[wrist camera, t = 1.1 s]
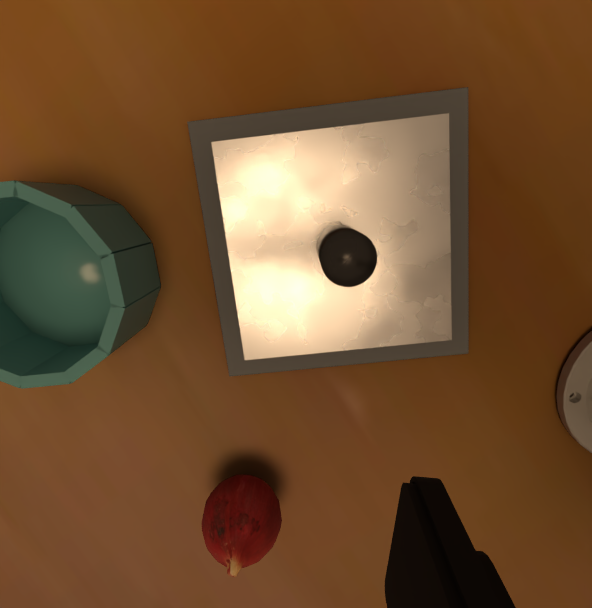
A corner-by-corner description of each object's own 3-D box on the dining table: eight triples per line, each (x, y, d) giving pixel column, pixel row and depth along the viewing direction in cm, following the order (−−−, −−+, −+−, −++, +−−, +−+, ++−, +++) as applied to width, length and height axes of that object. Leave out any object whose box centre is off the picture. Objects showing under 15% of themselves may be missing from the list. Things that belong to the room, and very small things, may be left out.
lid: (444, 116, 25) (495, 85, 19) (447, 336, 29) (490, 375, 22) (213, 143, 26) (184, 123, 19) (246, 356, 30) (230, 400, 23)
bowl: (139, 177, 27) (94, 170, 21) (172, 342, 30) (141, 376, 24) (-30, 197, 27) (-120, 196, 22) (19, 358, 30) (-48, 395, 24)
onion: (200, 470, 33) (169, 554, 25) (261, 442, 32) (248, 519, 24) (236, 522, 34) (217, 617, 26) (295, 496, 33) (293, 586, 25)
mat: (465, 89, 25) (468, 87, 25) (466, 351, 30) (468, 353, 29) (189, 123, 26) (187, 121, 26) (230, 374, 30) (229, 376, 30)
